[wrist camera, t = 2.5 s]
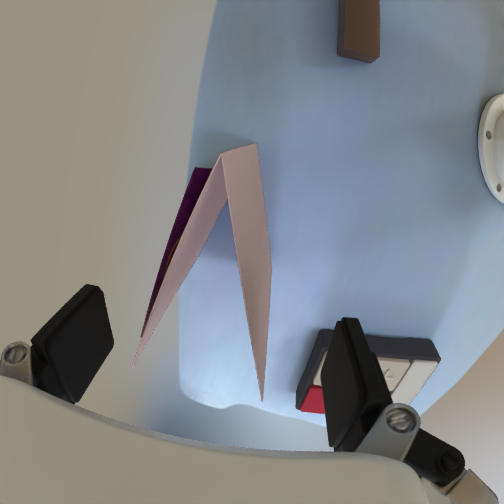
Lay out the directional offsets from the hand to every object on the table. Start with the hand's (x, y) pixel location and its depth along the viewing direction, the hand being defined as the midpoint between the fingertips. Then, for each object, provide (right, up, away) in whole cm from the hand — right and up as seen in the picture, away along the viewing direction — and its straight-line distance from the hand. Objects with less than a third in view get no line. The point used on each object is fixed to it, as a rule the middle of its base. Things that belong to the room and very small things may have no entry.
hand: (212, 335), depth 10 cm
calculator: (+15, -11, +20) cm, 28 cm away
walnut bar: (+10, +25, +6) cm, 27 cm away
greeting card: (+2, +6, +14) cm, 16 cm away
